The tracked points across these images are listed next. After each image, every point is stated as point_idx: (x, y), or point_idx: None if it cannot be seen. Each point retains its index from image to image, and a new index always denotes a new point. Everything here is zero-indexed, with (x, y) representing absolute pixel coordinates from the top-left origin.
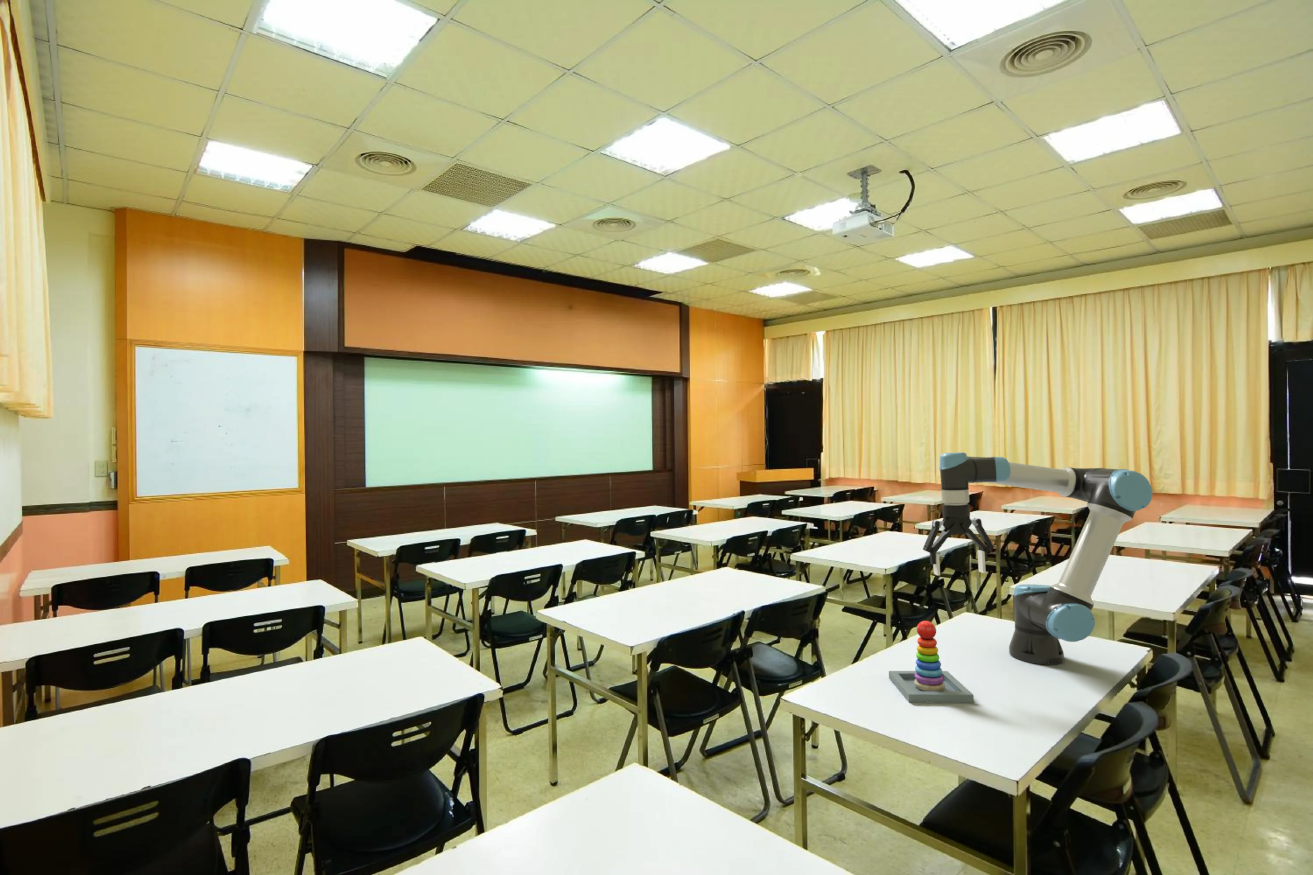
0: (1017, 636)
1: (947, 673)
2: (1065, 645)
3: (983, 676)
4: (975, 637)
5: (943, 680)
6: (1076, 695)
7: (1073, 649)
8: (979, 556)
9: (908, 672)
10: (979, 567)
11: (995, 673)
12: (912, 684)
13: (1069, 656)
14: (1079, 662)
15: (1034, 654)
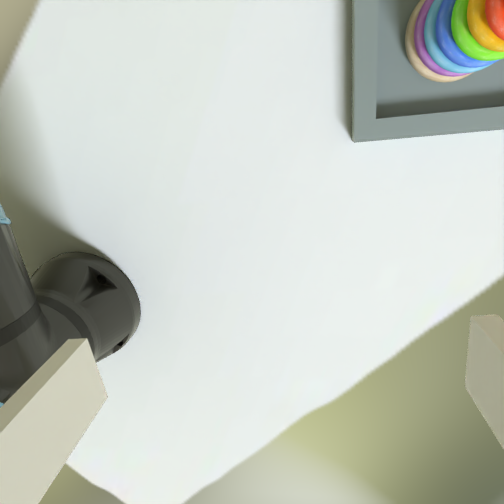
0: (102, 323)
1: (362, 120)
2: None
3: (248, 165)
4: (183, 411)
5: (421, 7)
6: (64, 51)
7: None
8: (6, 501)
9: (485, 116)
10: (84, 410)
11: (211, 189)
12: None
13: None
14: None
15: (91, 270)
